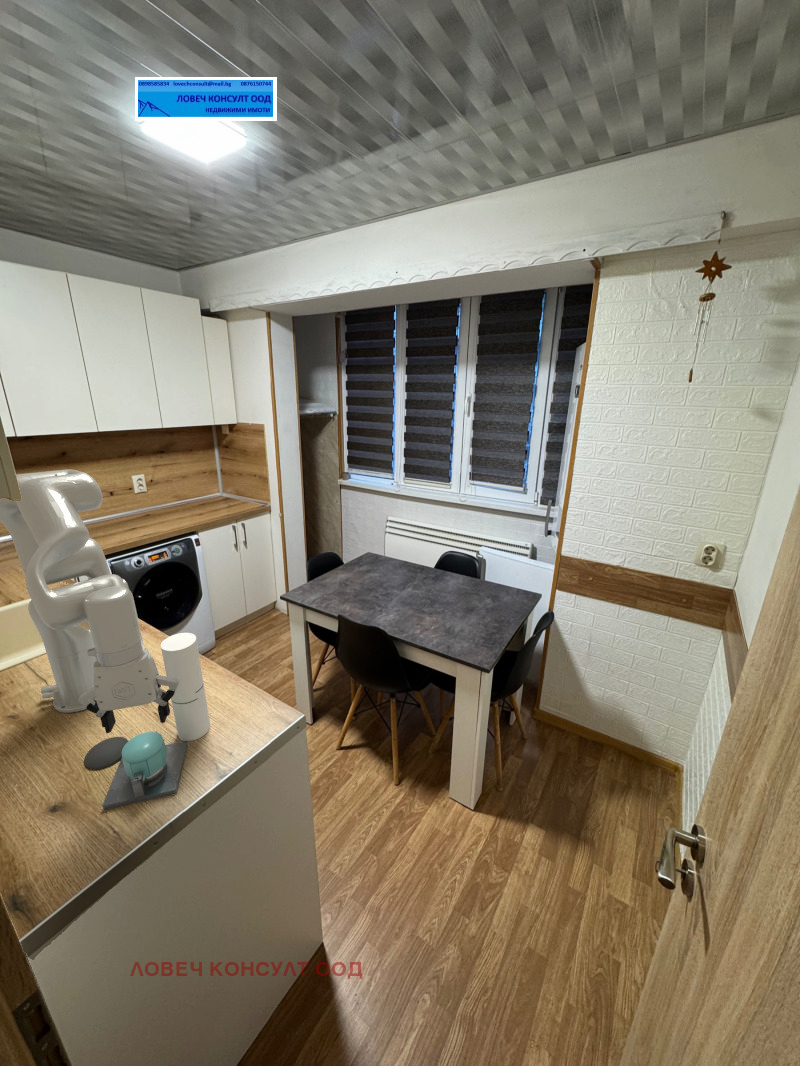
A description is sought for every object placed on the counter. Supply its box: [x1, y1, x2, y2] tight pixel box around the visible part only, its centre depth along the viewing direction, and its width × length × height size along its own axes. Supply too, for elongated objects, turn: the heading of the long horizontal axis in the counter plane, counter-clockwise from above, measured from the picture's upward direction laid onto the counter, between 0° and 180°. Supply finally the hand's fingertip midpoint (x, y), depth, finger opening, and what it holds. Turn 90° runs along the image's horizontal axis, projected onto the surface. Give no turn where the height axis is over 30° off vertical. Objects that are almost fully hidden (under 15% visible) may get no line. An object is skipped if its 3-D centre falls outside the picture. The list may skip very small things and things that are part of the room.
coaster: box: [84, 736, 129, 770], centre depth 94 cm, size 8×8×1 cm
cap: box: [122, 731, 167, 782], centre depth 88 cm, size 10×7×5 cm
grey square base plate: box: [102, 731, 189, 811], centre depth 89 cm, size 13×13×7 cm
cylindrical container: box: [160, 632, 211, 742], centre depth 98 cm, size 7×7×25 cm
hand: (138, 722), depth 85 cm, fingers open, 9 cm apart
